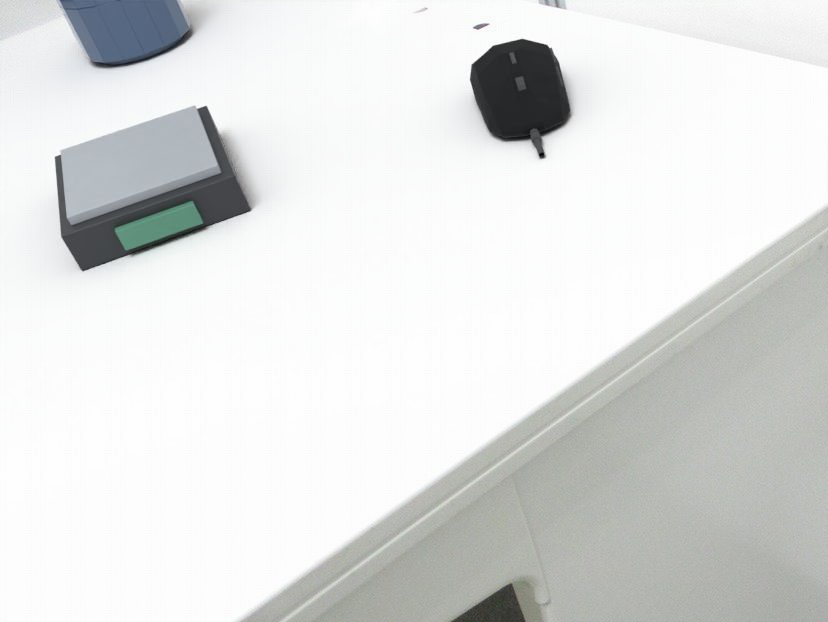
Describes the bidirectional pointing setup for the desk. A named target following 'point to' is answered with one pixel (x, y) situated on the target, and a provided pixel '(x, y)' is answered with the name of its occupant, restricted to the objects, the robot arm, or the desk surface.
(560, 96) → the gaming mouse
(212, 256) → the desk surface
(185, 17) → the blue faceted tumbler
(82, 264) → the scale
